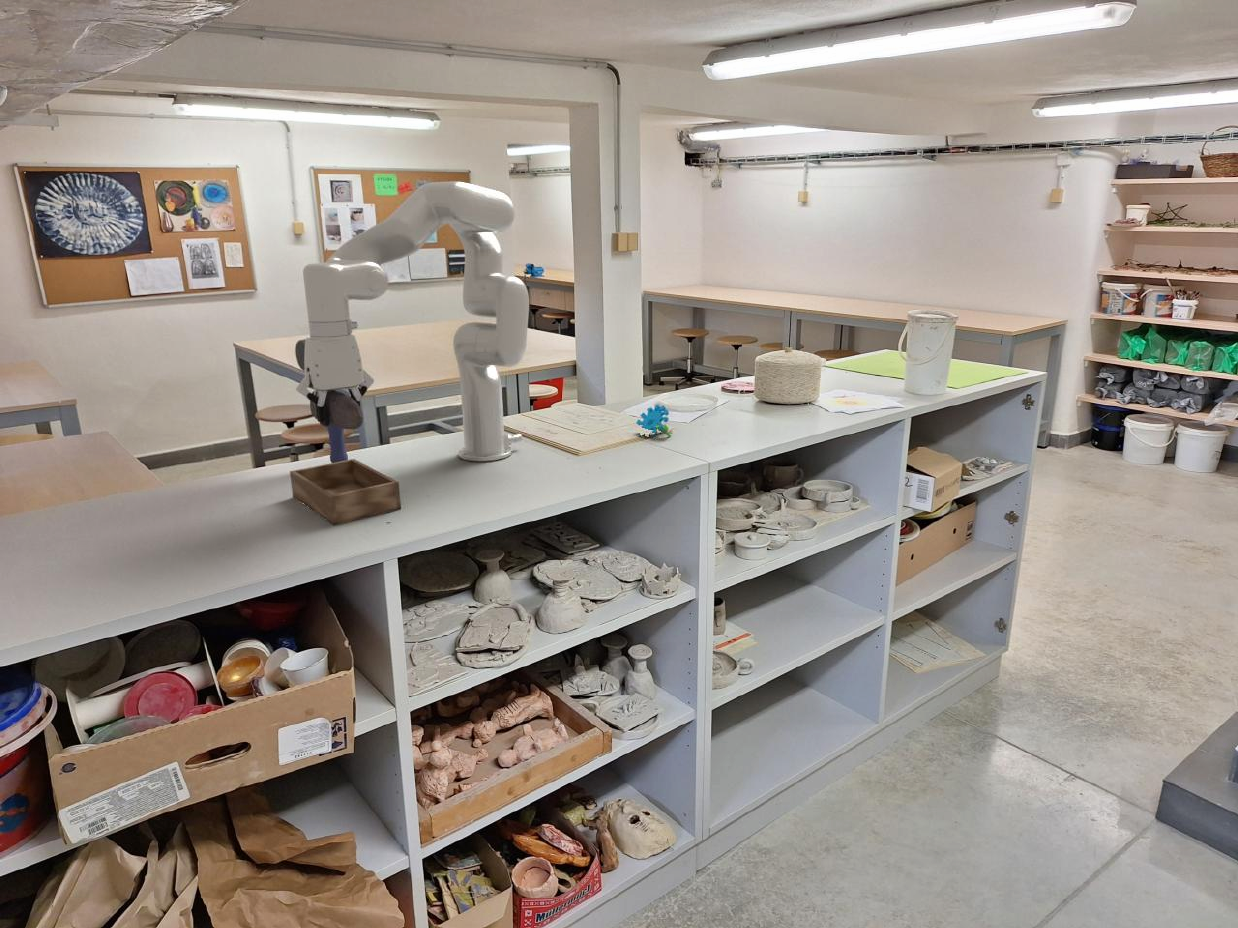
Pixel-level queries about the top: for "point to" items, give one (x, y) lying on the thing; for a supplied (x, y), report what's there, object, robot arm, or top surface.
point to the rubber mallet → (335, 433)
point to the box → (345, 491)
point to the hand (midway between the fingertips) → (339, 421)
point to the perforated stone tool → (341, 410)
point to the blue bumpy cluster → (655, 420)
